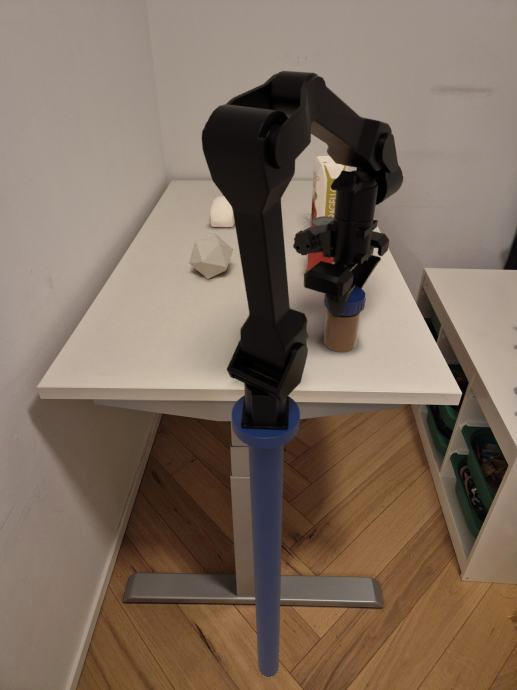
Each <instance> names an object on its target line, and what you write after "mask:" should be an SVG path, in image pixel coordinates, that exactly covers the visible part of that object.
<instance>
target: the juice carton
mask: <svg viewBox="0 0 517 690" xmlns="http://www.w3.org/2000/svg"><path fill="white" fill-rule="evenodd" d="M343 170H344V171H349V172H350V171H351V170H350V166H344V165H341V164H336V163H335V162H334V161H333V159H332V158H331V157H330V156H329V155H318V156H317V155H316V157H315V162H314V166H313V174H312V175H313V176H312V192H311V215H310V226H311V225H312V220H313V219H315V218H317V217H321V216H329V217H334V210H335V198H336V190H332V189H331V185H332V183H333V181H334V180H335V179H336V178H337V177H338V176H339V175H340V173H341V171H343Z"/></svg>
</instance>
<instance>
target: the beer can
mask: <svg viewBox="0 0 517 690" xmlns="http://www.w3.org/2000/svg"><path fill="white" fill-rule="evenodd" d="M332 220H334V217H329V216H321V217H317V218H315V219H313V220H312V225H311V224H310V227H313V226H319V225H325V224H328V223H330V222H331V221H332ZM333 260H334V258H333V257H330V258H327V257H323V252H318V253H310V254H307V264H306V272H307V271H308V270H310V269H311V268H312V267H313V266H314V265H316V264H317V263H319V262H320V261H323V262H327V263H331V264H333Z"/></svg>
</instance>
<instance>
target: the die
mask: <svg viewBox="0 0 517 690" xmlns="http://www.w3.org/2000/svg"><path fill="white" fill-rule="evenodd" d="M191 250H192V251H191V254H190V258H189V261H188V264H190V266H192V267H193V268H194V269H195V270H196V271H197V272H199V273H200V274H201V275H202V276H203V277H205V278H206V279H207V280H209V279H211V278H213V277H217V276H218V275H220V274H223V273H224V272H225V273H226V272H227V268H228V266H229V263H230V261H231V257H232V254H233V251H234V248H233V247H231V246H230V245H229V244H228V243H227V242H226V241H225V240H223V239H222V238H221V237H220V236H219V235H218V234H217V233H215V232H214V233H211V234H209V235H207V236H206V235H205V236H203V237H201V238H197V239H196V240H194V244H193V247H192V249H191Z"/></svg>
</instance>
